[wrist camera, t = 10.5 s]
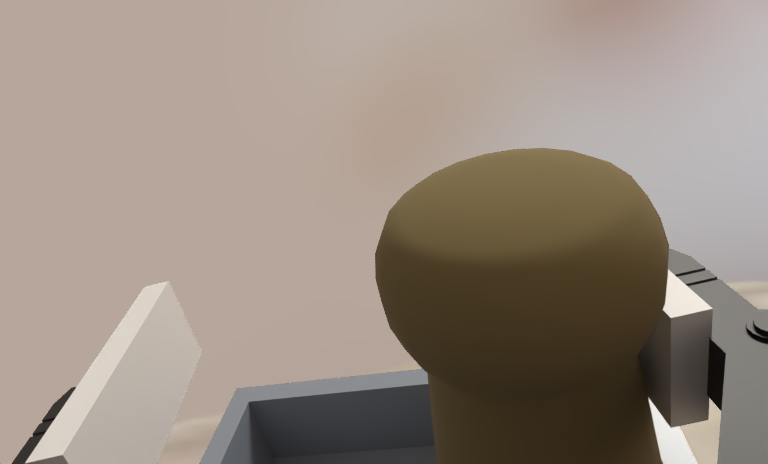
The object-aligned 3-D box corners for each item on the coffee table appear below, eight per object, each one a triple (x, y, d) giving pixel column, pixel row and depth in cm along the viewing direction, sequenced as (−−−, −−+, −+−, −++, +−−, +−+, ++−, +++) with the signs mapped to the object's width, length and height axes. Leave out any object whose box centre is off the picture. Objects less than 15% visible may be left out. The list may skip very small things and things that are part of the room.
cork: (501, 423, 18) (440, 116, 13) (706, 497, 14) (734, 110, 9) (404, 590, 14) (261, 249, 9) (649, 750, 11) (642, 329, 5)
